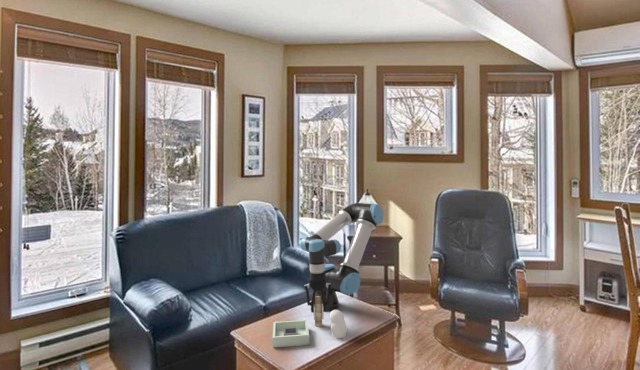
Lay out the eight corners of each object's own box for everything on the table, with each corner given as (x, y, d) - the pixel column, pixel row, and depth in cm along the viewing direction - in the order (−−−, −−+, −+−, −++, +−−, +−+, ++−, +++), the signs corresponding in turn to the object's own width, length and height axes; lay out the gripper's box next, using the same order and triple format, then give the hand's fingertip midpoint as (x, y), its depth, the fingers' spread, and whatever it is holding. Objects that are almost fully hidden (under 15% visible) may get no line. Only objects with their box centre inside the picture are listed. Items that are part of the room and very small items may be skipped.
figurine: (330, 331, 173) (329, 307, 172) (346, 331, 173) (345, 306, 172) (330, 339, 166) (329, 313, 165) (346, 338, 166) (346, 313, 165)
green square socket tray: (273, 331, 175) (273, 321, 175) (307, 328, 177) (306, 319, 177) (272, 347, 160) (272, 337, 159) (309, 344, 161) (309, 335, 161)
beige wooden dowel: (314, 323, 182) (313, 296, 181) (321, 323, 182) (321, 296, 182) (315, 327, 178) (314, 299, 178) (322, 326, 179) (321, 298, 178)
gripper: (300, 274, 174) (302, 322, 176) (334, 272, 176) (336, 320, 177) (300, 270, 182) (301, 316, 183) (332, 268, 183) (333, 314, 185)
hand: (318, 318), depth 180 cm, fingers closed on beige wooden dowel, 3 cm apart
